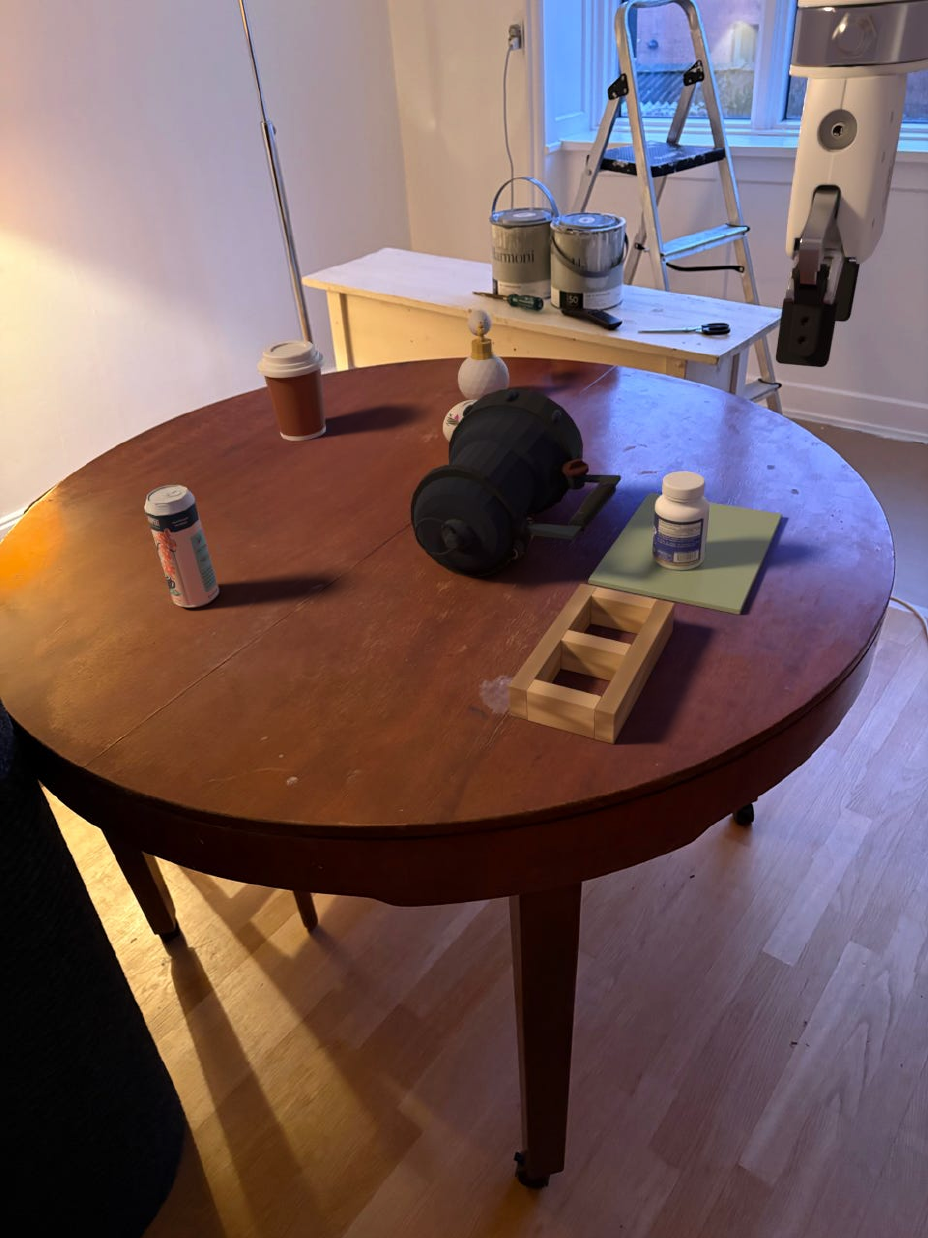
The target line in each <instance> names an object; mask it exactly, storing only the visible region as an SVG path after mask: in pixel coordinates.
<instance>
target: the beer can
mask: <svg viewBox="0 0 928 1238" xmlns="http://www.w3.org/2000/svg"><path fill="white" fill-rule="evenodd" d="M143 509H144V512H145V514H146V518H147V521H148V524H149V528H150V531H151V533H152V537H153V540H154V543H155V547H156V550H157V553H158V557H159V559H160V563H161V566H162V568H163V573H164V575H165V579H166V582H167V586H168V589H169V592H170V595H171V596H170V597H171V599H172V602H173V603H174V604H175V605H176V606H179V607H181V608H189V609H193V608H200V607H204V606H206V605H207V604H209V603H211V602H212V601H213V600H214V599H216V597H217V596H218V595H219V593H220V588H219V586H218V582H217V578H216V574H215V571H214V567H213V564H212V563H213V562H212V559H211V556H210V552H209V548H208V545H207V540H206V537H205V534H204V529H203V526H202V523H201V518H200V513H199V511H198V507H197V503H196V498H195V495H194V494H193V493H192V492H191V491H190V490H189V489H188V488H187V486H184V485H182V484H181V485H180V484H168V485H163V486H160V487H157V488H155V489H153V490H152V491H150V492H149V493H148V494H147V495H146V499H145V504H144V507H143Z"/></svg>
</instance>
